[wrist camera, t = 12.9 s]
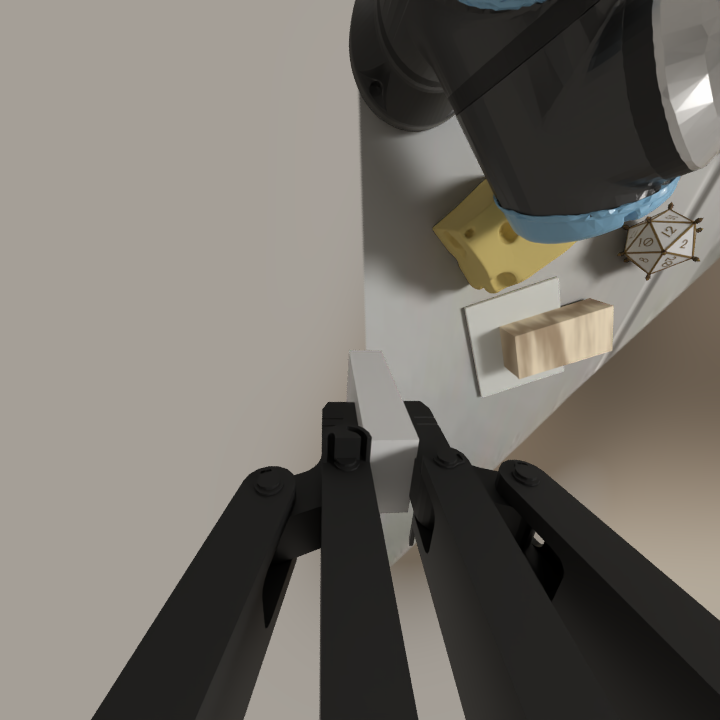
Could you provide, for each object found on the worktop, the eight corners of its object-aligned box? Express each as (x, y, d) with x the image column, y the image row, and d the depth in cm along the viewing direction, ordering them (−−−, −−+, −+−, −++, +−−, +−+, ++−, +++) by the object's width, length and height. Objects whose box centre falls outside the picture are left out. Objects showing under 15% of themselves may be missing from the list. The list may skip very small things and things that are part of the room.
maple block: (519, 379, 49) (612, 350, 48) (514, 336, 46) (613, 305, 46) (504, 366, 53) (589, 339, 52) (499, 326, 50) (589, 298, 50)
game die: (623, 242, 51) (693, 276, 46) (587, 263, 49) (656, 302, 44) (661, 183, 44) (749, 215, 39) (621, 205, 42) (709, 242, 36)
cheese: (469, 286, 48) (504, 303, 39) (426, 225, 44) (452, 228, 35) (531, 235, 46) (582, 240, 37) (491, 167, 42) (537, 154, 33)
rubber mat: (480, 396, 55) (481, 397, 55) (463, 307, 49) (465, 308, 48) (561, 369, 55) (564, 371, 54) (556, 276, 48) (558, 277, 48)
